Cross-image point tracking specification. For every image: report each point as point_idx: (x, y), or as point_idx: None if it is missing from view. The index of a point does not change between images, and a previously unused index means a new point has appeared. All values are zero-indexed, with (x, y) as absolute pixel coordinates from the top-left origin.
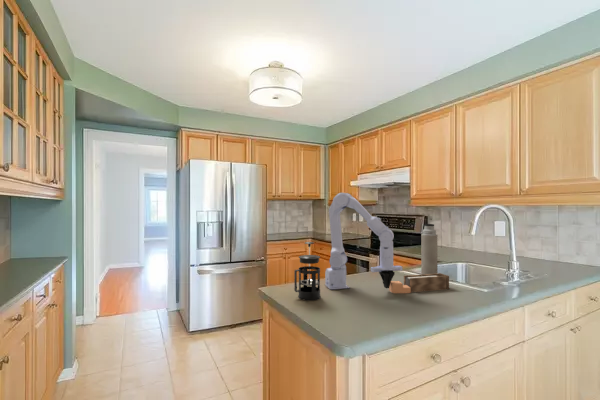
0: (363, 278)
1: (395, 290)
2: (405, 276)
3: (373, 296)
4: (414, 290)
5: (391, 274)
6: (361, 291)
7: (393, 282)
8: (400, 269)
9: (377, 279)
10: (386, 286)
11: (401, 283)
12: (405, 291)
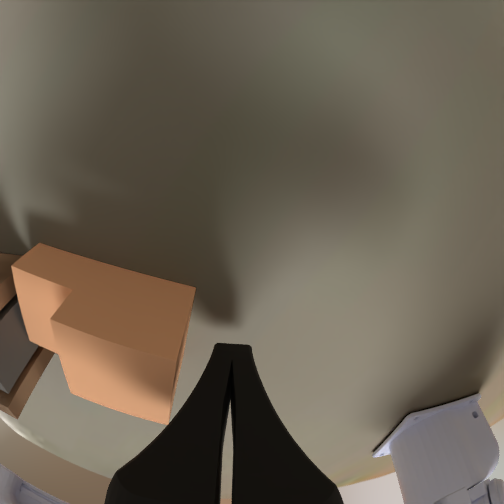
0: (221, 483)
1: (159, 296)
2: (6, 403)
3: (432, 255)
4: (5, 260)
5: (183, 492)
6: (403, 371)
7: (140, 390)
8: (7, 485)
9: None
10: (253, 358)
11: (61, 331)
12: (68, 262)
